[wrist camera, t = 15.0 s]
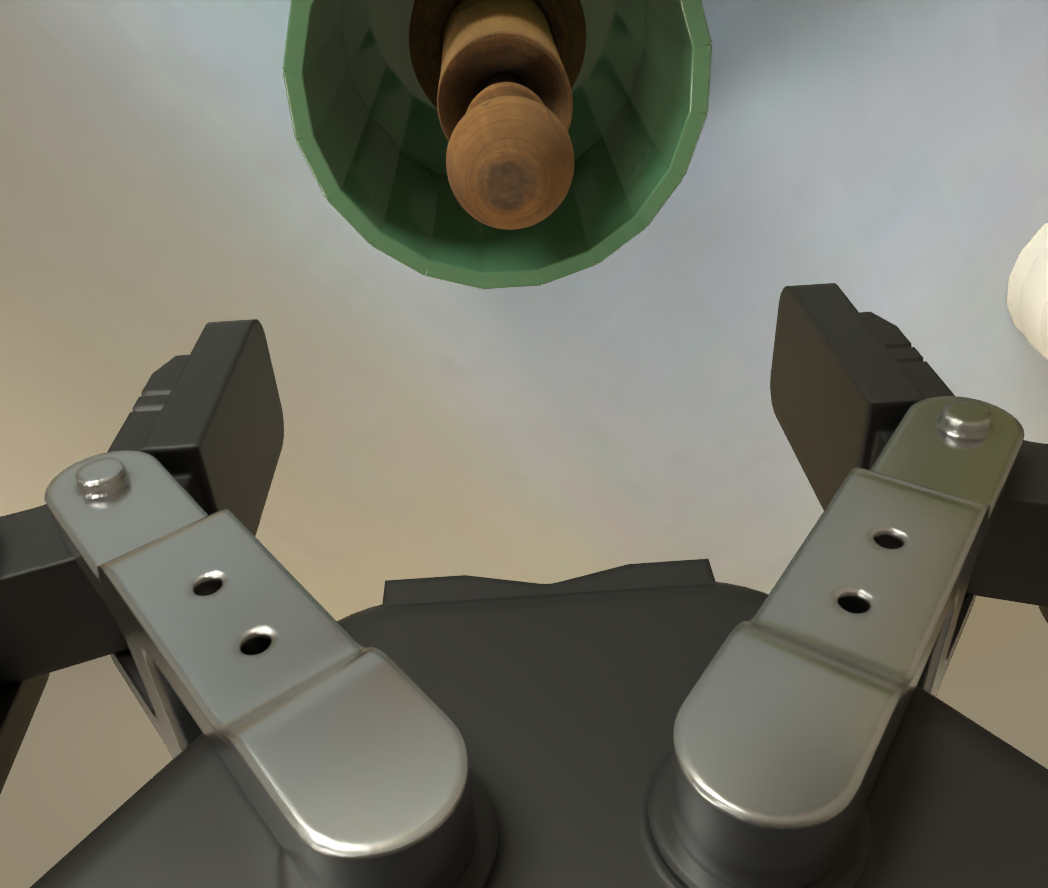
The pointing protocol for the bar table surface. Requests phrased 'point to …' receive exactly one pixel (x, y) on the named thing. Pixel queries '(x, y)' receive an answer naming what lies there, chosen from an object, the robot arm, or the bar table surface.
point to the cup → (420, 144)
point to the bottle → (1031, 291)
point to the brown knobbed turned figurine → (502, 100)
